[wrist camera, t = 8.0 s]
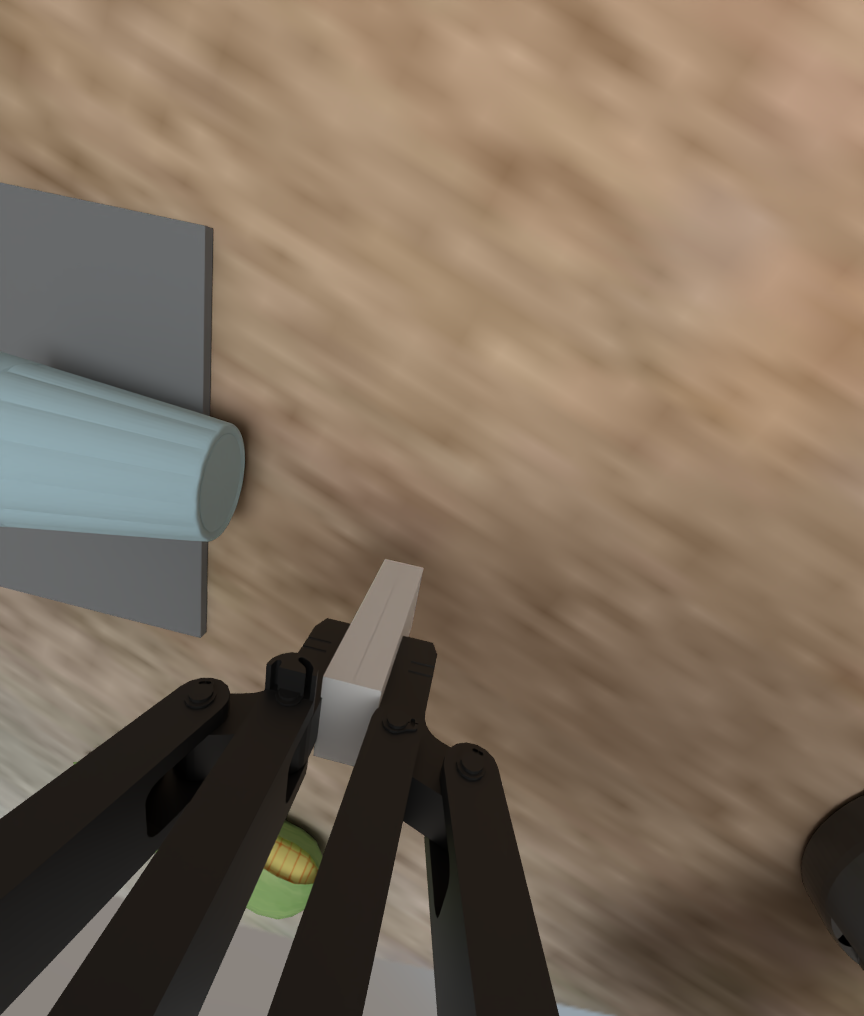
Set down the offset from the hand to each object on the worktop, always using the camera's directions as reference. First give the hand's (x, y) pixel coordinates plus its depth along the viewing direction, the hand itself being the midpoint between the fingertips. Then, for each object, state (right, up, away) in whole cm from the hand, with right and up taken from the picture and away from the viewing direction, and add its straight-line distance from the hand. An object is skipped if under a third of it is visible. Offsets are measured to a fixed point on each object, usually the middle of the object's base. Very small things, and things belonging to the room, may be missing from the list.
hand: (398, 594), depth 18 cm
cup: (-8, +4, +4) cm, 10 cm away
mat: (-17, +7, +7) cm, 20 cm away
